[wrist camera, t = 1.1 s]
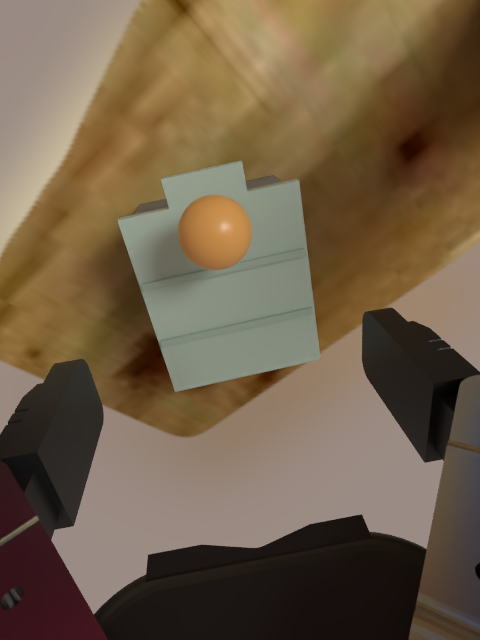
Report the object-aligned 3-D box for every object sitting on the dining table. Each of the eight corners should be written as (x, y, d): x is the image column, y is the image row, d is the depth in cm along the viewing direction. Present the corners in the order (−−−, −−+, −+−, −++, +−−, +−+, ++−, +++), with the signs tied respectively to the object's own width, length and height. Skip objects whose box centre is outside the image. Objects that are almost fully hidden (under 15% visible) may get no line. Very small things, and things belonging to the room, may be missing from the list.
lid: (292, 148, 25) (325, 159, 19) (317, 354, 32) (347, 411, 26) (109, 189, 25) (82, 213, 19) (175, 385, 32) (171, 450, 26)
